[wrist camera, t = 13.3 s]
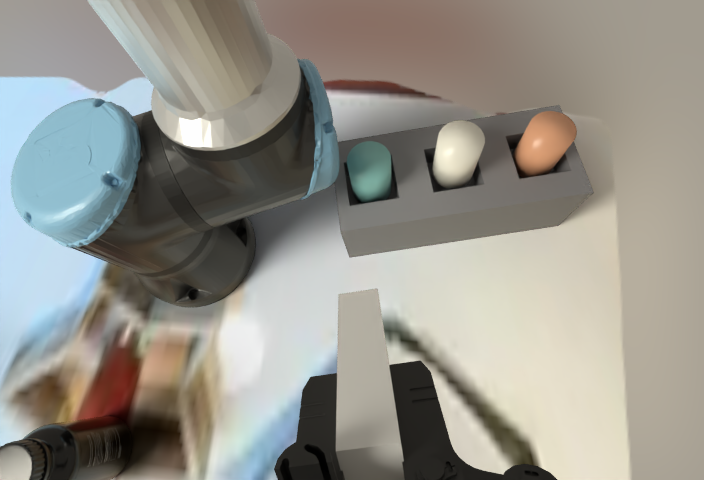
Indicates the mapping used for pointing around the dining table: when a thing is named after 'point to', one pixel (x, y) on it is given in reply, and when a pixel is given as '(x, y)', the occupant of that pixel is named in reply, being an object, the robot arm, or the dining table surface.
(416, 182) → the button console
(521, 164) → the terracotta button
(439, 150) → the cream button
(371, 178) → the teal button
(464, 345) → the dining table surface
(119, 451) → the supplement bottle
